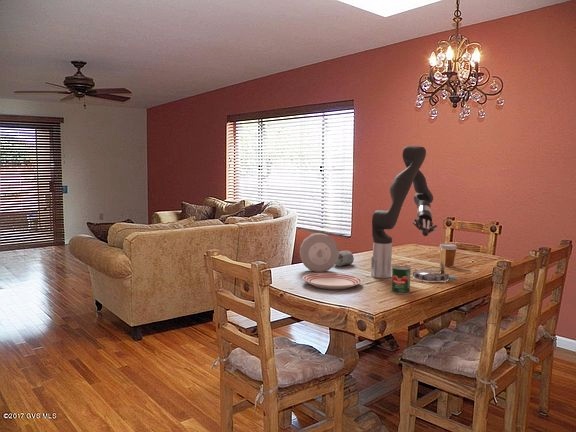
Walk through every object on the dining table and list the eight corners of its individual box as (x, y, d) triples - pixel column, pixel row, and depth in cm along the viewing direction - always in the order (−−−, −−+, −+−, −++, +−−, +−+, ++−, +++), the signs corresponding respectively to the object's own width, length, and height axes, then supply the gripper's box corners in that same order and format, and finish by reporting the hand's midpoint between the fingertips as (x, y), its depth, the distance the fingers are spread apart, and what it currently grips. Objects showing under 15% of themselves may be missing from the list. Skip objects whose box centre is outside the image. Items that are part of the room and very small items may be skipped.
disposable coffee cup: (444, 267, 256) (445, 246, 254) (435, 264, 265) (435, 243, 264) (459, 267, 258) (460, 245, 257) (449, 263, 267) (450, 243, 266)
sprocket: (421, 281, 219) (422, 252, 218) (407, 273, 236) (408, 246, 235) (454, 280, 222) (456, 251, 220) (438, 272, 238) (439, 246, 237)
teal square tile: (450, 279, 228) (450, 277, 228) (447, 278, 231) (447, 275, 231) (456, 279, 228) (456, 276, 228) (453, 277, 231) (453, 275, 231)
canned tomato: (406, 289, 207) (407, 265, 206) (412, 294, 199) (413, 269, 198) (389, 289, 207) (390, 265, 206) (393, 294, 199) (394, 269, 198)
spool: (342, 262, 250) (339, 245, 254) (330, 268, 256) (327, 251, 260) (359, 266, 258) (356, 249, 262) (347, 271, 265) (344, 254, 269)
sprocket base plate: (419, 283, 220) (420, 281, 220) (407, 275, 237) (407, 273, 237) (454, 282, 221) (454, 281, 221) (440, 274, 238) (440, 273, 238)
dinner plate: (324, 275, 234) (324, 269, 234) (372, 284, 217) (372, 277, 217) (290, 285, 213) (290, 278, 213) (340, 296, 196) (341, 288, 195)
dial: (300, 273, 236) (300, 235, 234) (298, 269, 248) (299, 232, 246) (340, 274, 237) (341, 235, 235) (336, 269, 249) (337, 232, 247)
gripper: (415, 206, 250) (415, 225, 236) (438, 213, 249) (441, 233, 236) (410, 216, 254) (410, 236, 241) (433, 223, 254) (435, 243, 240)
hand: (425, 234), depth 238 cm, fingers closed
